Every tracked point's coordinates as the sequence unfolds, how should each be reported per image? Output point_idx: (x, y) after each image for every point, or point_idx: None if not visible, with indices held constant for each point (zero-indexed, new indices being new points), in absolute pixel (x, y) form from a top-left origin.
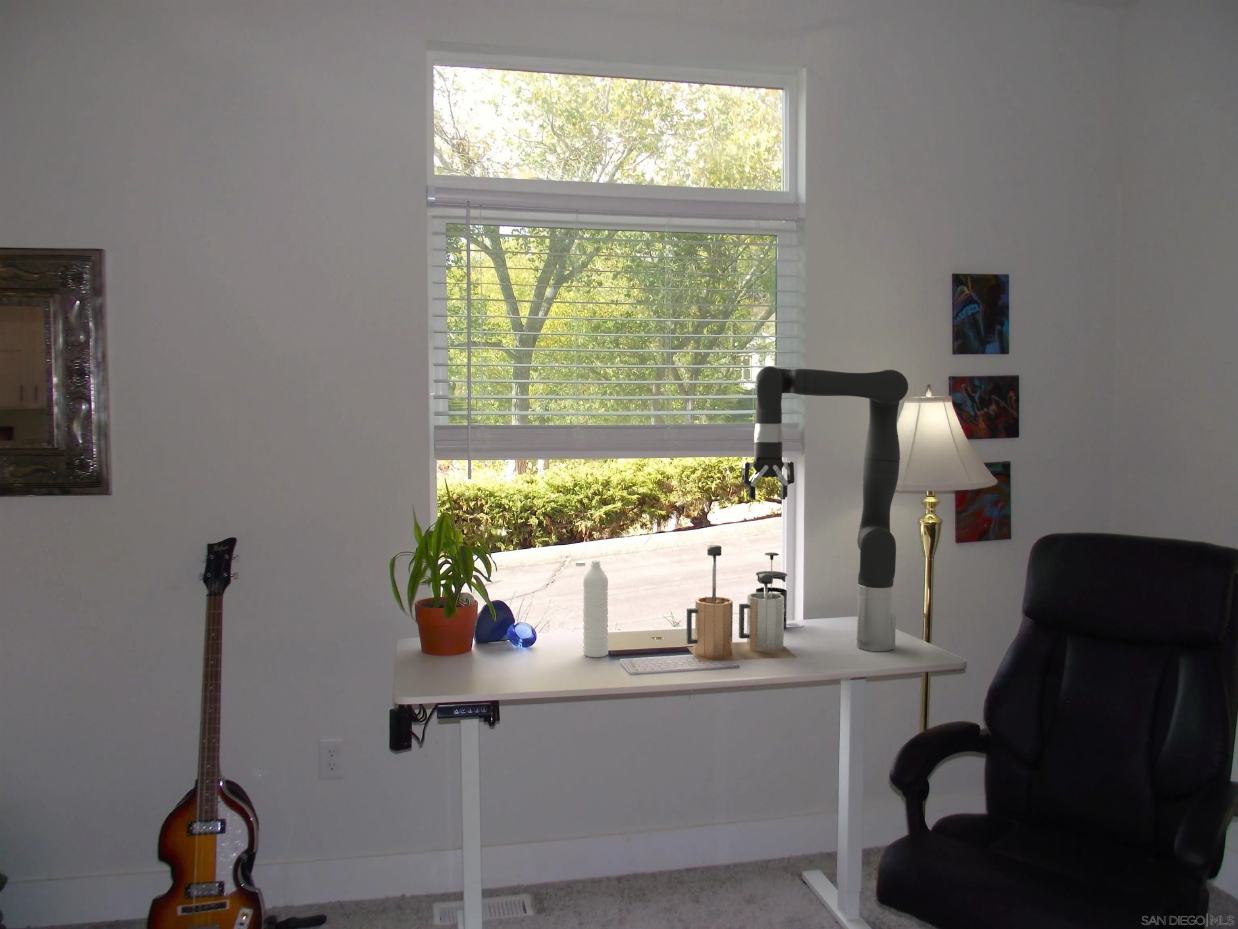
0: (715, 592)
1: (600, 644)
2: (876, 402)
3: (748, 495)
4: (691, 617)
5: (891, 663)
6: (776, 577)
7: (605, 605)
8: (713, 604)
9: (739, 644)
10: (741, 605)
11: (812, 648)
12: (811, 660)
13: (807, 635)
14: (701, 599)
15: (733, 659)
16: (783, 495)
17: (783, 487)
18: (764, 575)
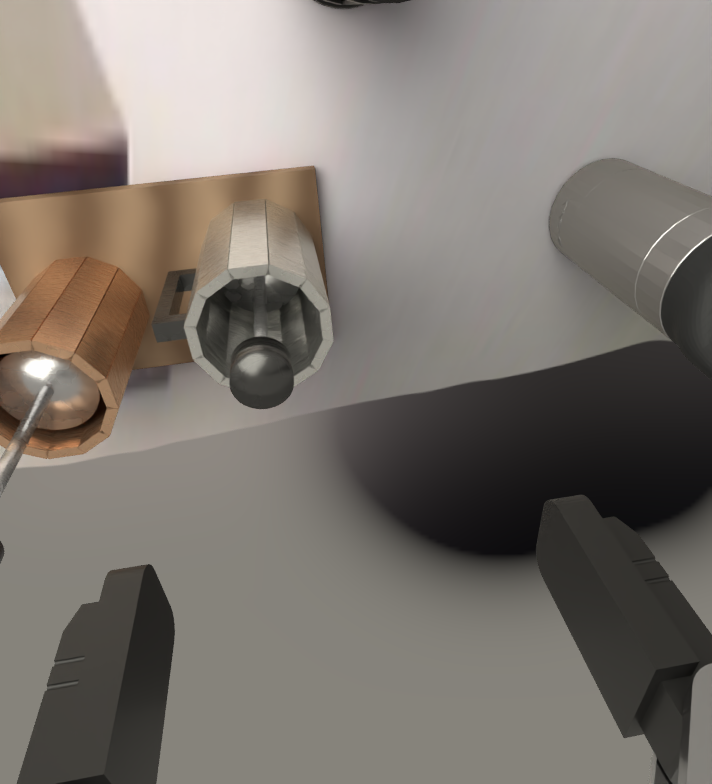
0: (35, 427)
1: None
2: None
3: (62, 637)
4: None
5: (549, 351)
6: (394, 2)
7: None
8: (44, 457)
9: (178, 212)
10: (160, 341)
11: (415, 212)
12: (370, 326)
13: (463, 30)
14: None
15: (152, 363)
16: (563, 603)
17: (617, 716)
18: (251, 402)
